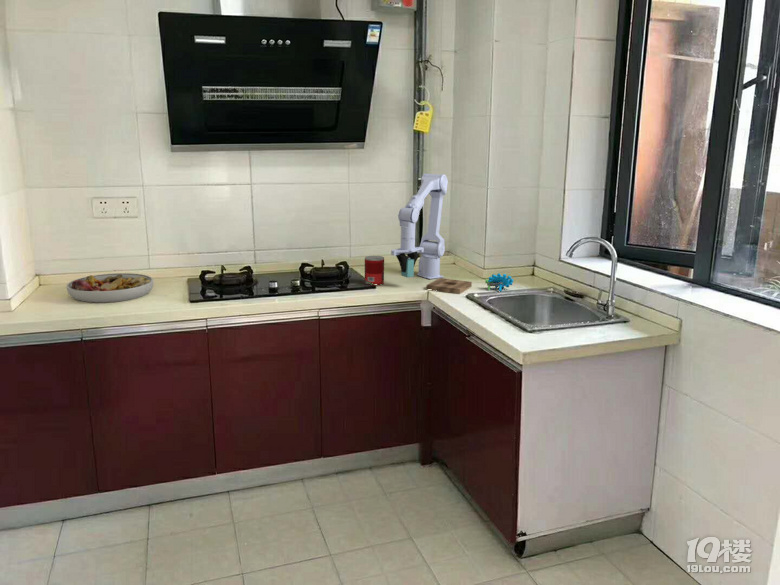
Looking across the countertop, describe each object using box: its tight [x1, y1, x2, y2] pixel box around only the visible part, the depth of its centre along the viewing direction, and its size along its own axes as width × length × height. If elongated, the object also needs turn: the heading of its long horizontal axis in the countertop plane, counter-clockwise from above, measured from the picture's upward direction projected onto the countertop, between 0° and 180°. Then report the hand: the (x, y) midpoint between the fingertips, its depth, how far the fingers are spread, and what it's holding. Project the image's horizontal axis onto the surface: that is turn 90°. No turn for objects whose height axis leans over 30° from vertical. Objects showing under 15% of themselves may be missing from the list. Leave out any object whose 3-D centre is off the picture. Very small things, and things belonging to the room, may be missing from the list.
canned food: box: [364, 255, 385, 286], centre depth 264 cm, size 8×8×11 cm
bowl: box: [66, 272, 154, 304], centre depth 242 cm, size 30×30×8 cm
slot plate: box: [426, 277, 473, 295], centre depth 259 cm, size 14×14×2 cm
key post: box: [400, 257, 415, 279], centre depth 258 cm, size 4×3×8 cm
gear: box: [484, 272, 514, 292], centre depth 257 cm, size 11×6×10 cm
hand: (407, 271), depth 259 cm, fingers closed on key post, 3 cm apart
